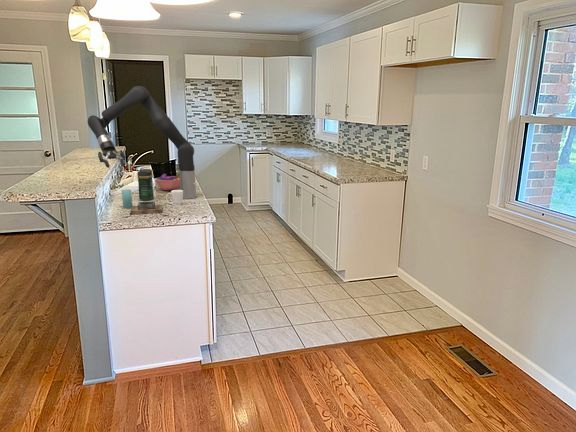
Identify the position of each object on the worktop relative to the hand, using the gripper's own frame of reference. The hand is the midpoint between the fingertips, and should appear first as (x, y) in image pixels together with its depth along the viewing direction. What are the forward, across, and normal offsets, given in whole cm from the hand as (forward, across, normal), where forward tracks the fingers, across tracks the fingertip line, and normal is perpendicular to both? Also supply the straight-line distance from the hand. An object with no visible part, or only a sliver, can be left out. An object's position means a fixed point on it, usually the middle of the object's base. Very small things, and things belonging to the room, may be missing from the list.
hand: (116, 166), depth 249 cm
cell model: (+4, +43, +28) cm, 51 cm away
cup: (+32, +24, 0) cm, 40 cm away
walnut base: (+34, +4, -3) cm, 35 cm away
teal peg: (+24, 0, +8) cm, 25 cm away
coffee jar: (+15, +18, +17) cm, 29 cm away
